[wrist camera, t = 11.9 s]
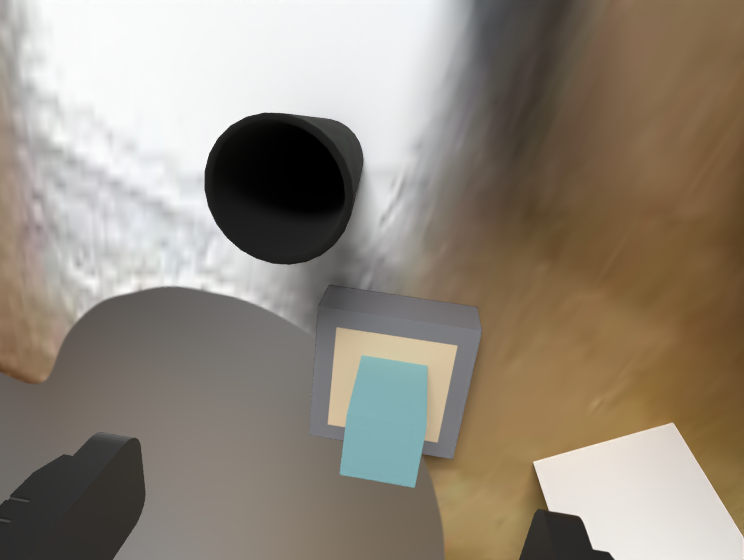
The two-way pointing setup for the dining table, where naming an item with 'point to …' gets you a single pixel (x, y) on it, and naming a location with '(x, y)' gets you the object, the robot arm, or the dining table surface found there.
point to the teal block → (386, 422)
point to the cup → (283, 185)
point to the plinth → (394, 356)
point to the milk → (642, 498)
